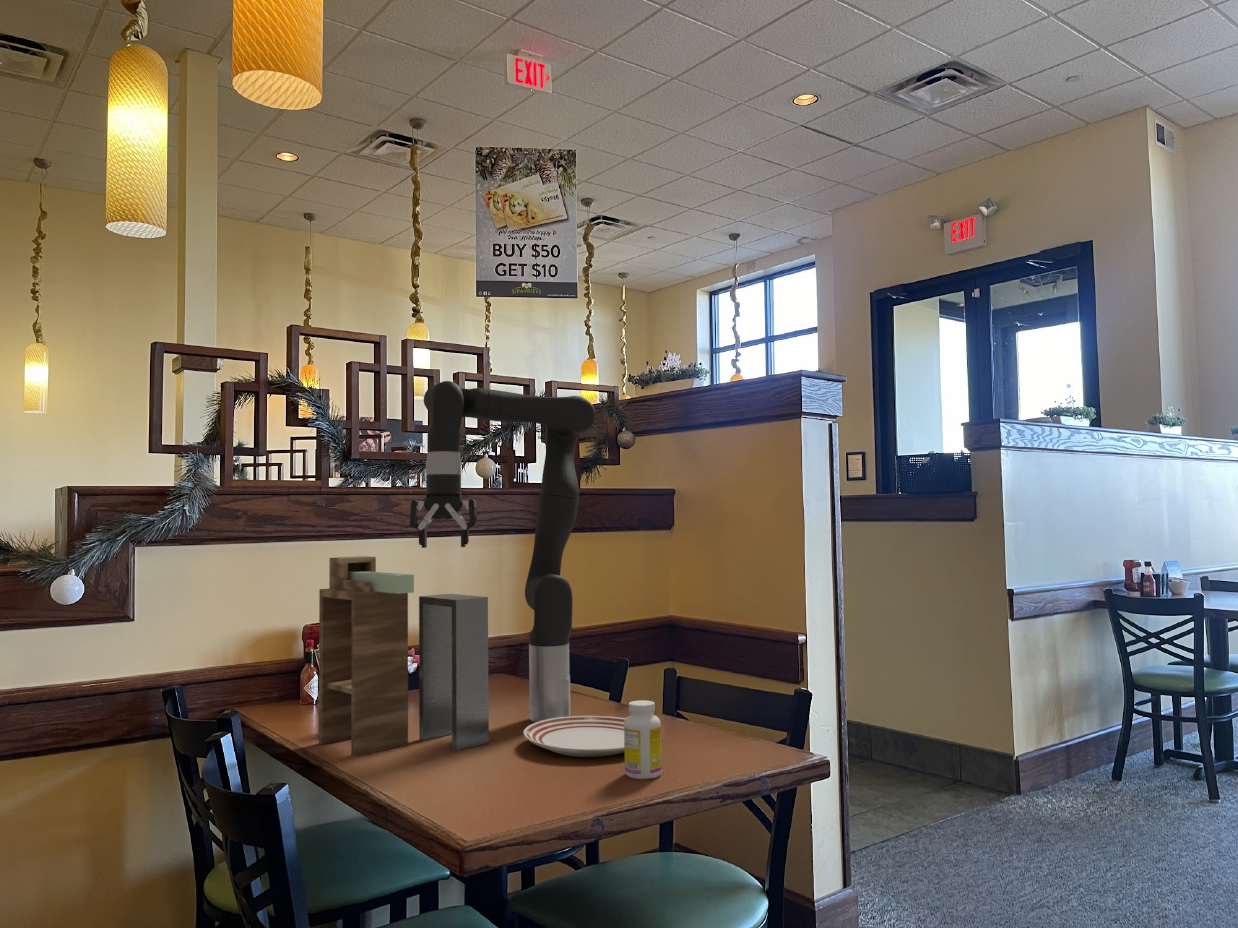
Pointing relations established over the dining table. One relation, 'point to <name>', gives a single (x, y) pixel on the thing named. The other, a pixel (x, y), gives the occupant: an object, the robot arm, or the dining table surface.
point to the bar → (385, 581)
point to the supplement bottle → (642, 741)
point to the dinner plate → (579, 735)
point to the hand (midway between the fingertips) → (443, 547)
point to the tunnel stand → (362, 661)
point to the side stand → (454, 669)
